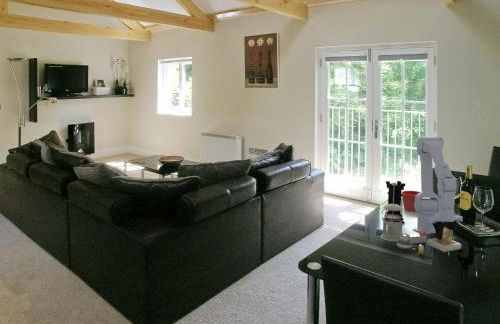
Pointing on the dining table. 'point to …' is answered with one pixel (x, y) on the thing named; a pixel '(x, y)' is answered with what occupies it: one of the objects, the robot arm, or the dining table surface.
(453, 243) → the tray
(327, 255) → the dining table surface
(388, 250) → the dining table surface
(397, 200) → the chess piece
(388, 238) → the french press
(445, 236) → the block
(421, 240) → the crank
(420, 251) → the crank base
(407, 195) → the flower pot
